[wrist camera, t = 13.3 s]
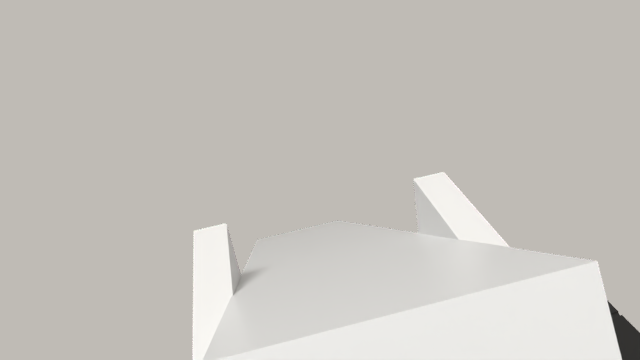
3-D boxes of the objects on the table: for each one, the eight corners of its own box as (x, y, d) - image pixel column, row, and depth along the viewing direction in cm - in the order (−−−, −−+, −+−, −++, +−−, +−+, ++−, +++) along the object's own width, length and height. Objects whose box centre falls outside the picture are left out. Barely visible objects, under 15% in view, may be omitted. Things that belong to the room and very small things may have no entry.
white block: (287, 747, 6) (200, 363, 6) (273, 312, 31) (256, 239, 31) (686, 616, 6) (597, 260, 6) (354, 291, 31) (337, 220, 31)
